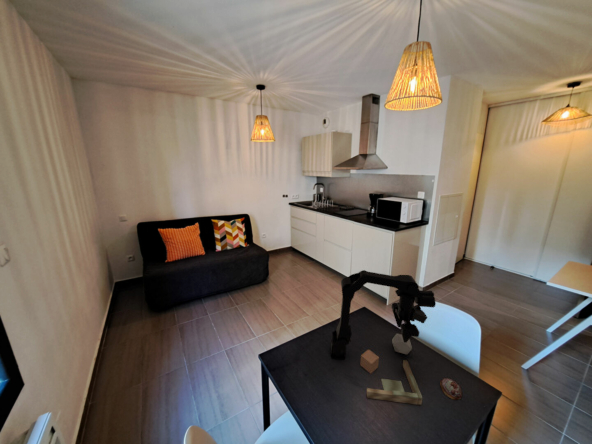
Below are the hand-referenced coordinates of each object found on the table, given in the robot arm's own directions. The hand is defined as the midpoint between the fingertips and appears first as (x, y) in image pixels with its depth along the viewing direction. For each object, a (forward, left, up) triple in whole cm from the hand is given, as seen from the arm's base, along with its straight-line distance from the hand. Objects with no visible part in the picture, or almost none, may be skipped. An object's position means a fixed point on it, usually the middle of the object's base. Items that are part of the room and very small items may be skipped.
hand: (401, 334), depth 100 cm
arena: (-7, -11, -15) cm, 20 cm away
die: (+3, +6, -15) cm, 16 cm away
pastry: (+17, -12, -15) cm, 25 cm away
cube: (-14, -5, -15) cm, 21 cm away
